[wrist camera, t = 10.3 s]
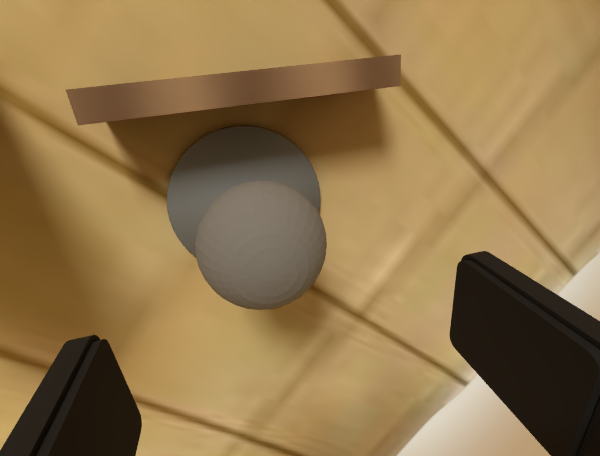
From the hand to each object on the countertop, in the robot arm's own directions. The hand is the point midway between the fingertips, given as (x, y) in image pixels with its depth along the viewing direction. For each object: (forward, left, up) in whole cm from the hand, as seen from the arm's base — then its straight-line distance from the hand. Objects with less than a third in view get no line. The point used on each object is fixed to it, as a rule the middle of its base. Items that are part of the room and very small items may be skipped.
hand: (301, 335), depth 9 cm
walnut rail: (-1, -6, -15) cm, 16 cm away
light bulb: (0, 0, -14) cm, 14 cm away
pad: (0, +1, -15) cm, 15 cm away
